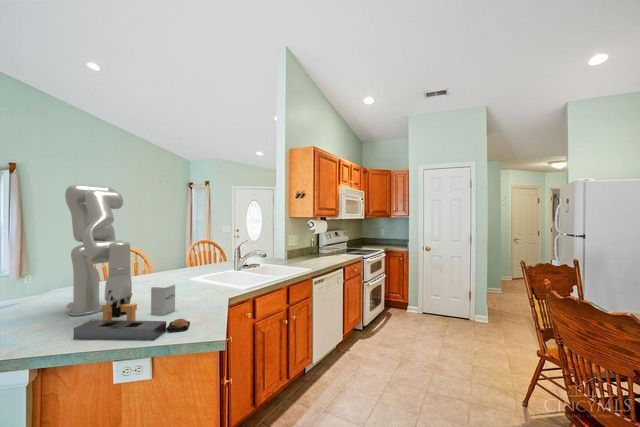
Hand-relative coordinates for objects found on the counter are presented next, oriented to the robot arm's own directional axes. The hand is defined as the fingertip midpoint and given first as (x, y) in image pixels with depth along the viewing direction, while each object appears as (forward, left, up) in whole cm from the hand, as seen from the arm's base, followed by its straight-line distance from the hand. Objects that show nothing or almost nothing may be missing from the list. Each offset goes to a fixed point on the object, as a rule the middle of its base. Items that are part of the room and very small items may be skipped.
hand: (119, 315), depth 120 cm
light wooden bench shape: (0, 0, -4) cm, 4 cm away
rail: (+9, -11, -4) cm, 15 cm away
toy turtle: (+27, -3, -4) cm, 27 cm away
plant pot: (-9, +13, -4) cm, 16 cm away
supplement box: (+10, +15, -4) cm, 18 cm away
